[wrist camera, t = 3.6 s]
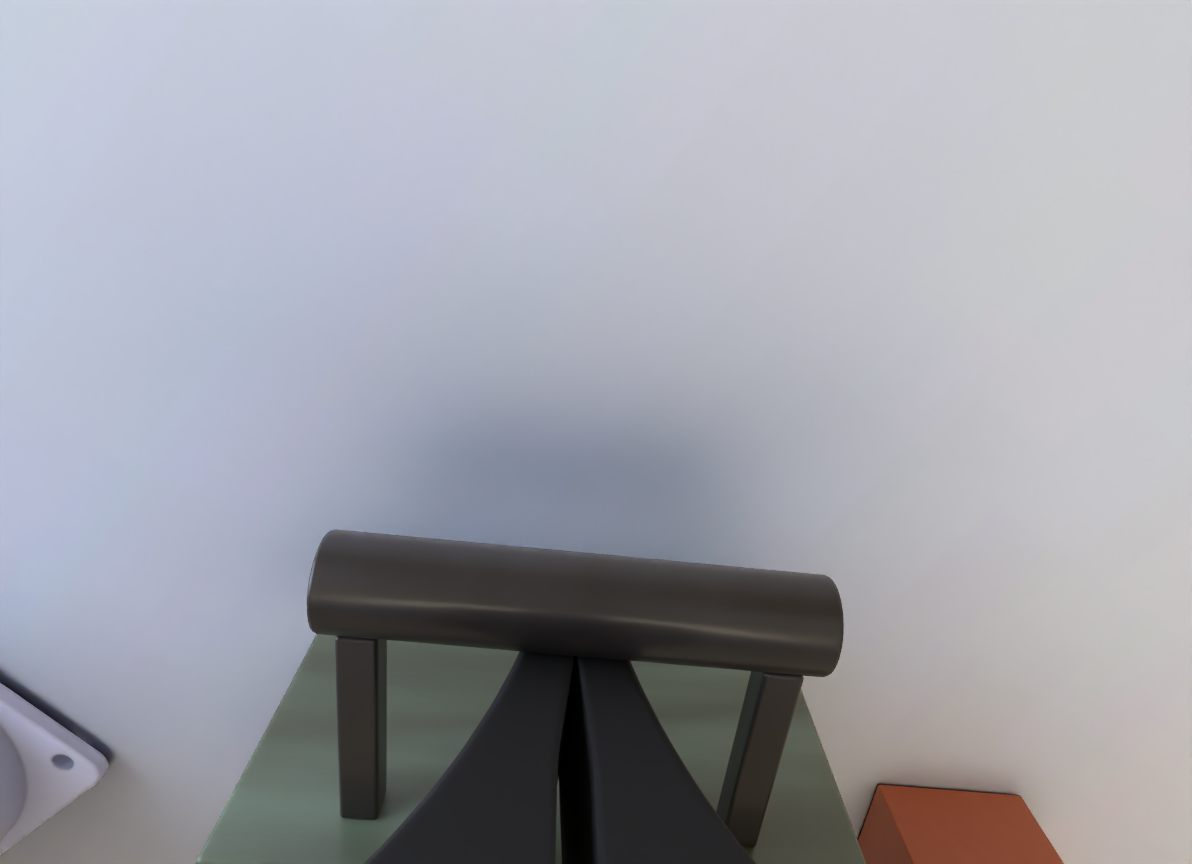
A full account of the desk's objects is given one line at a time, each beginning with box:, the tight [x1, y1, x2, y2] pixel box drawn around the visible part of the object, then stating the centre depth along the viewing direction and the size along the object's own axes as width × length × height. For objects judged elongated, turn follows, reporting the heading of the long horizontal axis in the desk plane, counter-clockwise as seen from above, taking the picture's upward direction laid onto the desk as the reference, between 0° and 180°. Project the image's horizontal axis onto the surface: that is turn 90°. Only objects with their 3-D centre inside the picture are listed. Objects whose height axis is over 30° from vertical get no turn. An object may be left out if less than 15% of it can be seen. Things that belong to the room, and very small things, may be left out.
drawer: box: [197, 530, 866, 864], centre depth 15 cm, size 16×10×6 cm, turn 173°
